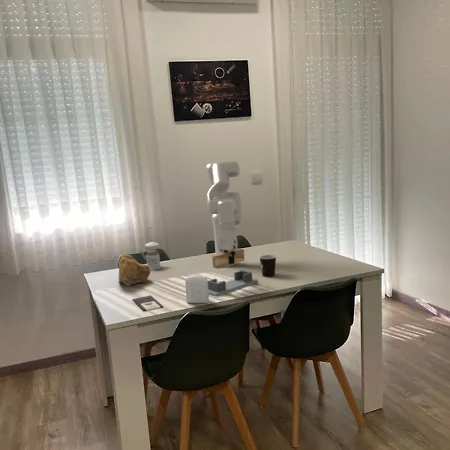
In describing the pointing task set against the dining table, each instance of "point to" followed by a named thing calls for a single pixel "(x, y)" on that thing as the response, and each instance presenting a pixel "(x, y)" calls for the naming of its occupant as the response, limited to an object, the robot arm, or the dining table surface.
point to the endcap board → (230, 283)
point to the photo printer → (197, 289)
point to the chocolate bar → (147, 303)
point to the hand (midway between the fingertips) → (229, 262)
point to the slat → (227, 258)
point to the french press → (156, 257)
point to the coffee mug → (268, 265)
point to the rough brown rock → (132, 270)
